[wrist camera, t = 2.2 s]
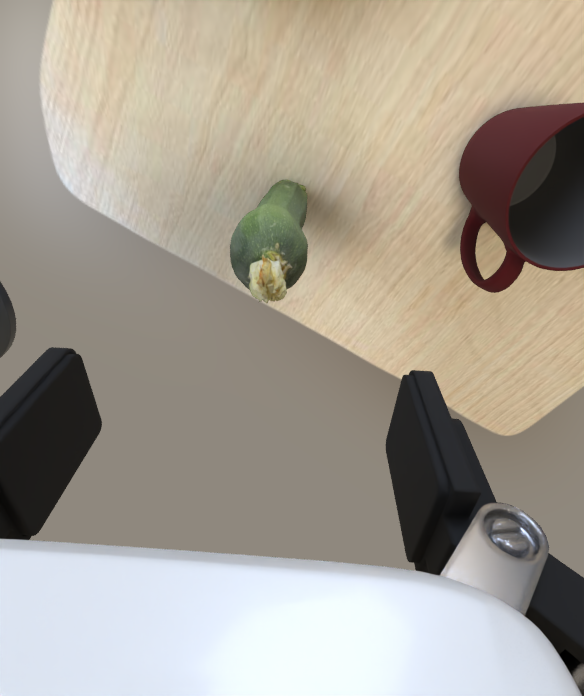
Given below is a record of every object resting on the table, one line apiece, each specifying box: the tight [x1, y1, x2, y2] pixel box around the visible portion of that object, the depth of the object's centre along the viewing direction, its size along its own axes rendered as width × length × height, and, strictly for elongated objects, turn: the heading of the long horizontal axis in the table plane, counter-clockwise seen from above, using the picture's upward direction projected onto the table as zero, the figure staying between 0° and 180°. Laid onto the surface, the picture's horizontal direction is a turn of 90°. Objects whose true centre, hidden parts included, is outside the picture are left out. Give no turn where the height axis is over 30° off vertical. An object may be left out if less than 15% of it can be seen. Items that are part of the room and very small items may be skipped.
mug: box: [459, 103, 584, 293], centre depth 27 cm, size 12×9×11 cm
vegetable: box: [230, 180, 308, 303], centre depth 25 cm, size 4×4×20 cm
